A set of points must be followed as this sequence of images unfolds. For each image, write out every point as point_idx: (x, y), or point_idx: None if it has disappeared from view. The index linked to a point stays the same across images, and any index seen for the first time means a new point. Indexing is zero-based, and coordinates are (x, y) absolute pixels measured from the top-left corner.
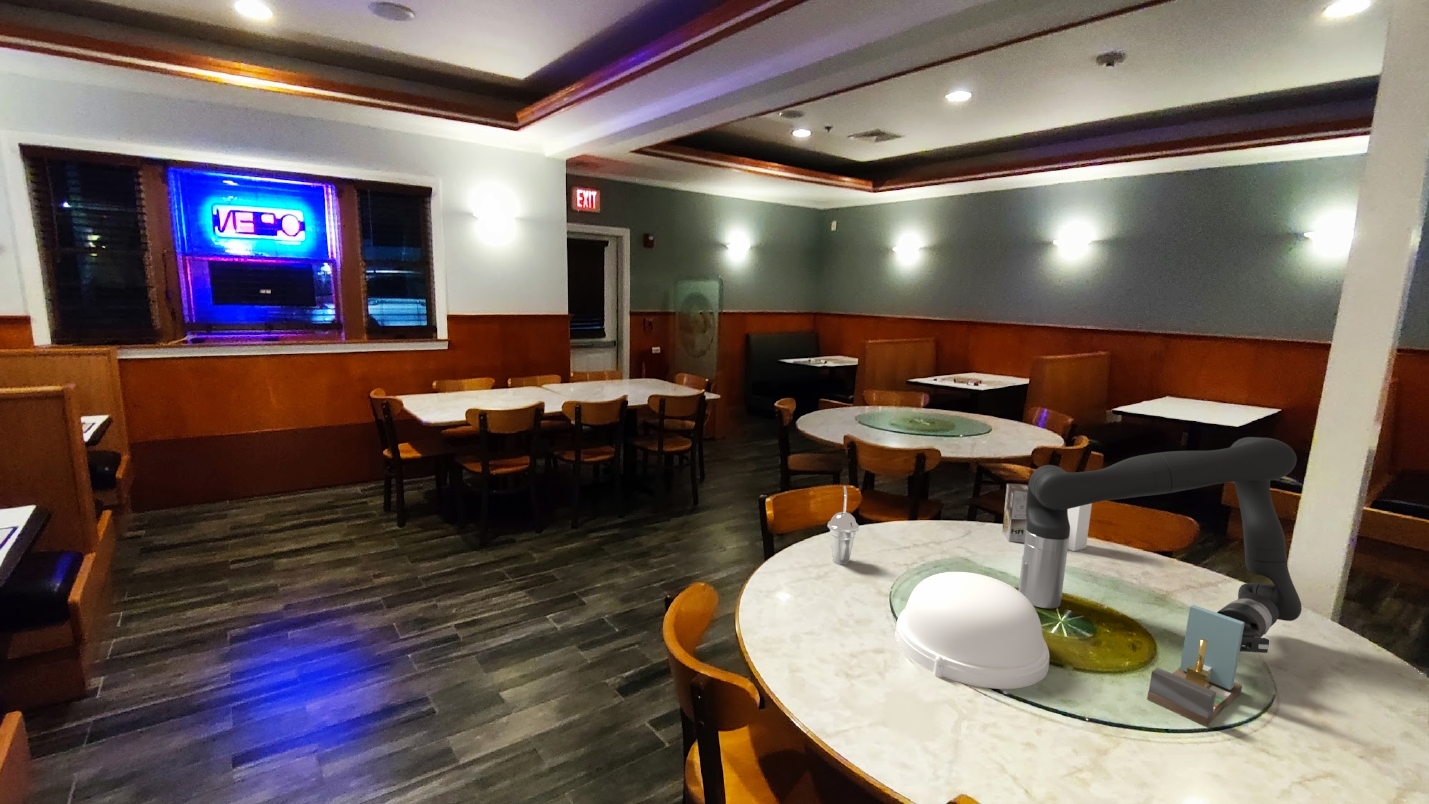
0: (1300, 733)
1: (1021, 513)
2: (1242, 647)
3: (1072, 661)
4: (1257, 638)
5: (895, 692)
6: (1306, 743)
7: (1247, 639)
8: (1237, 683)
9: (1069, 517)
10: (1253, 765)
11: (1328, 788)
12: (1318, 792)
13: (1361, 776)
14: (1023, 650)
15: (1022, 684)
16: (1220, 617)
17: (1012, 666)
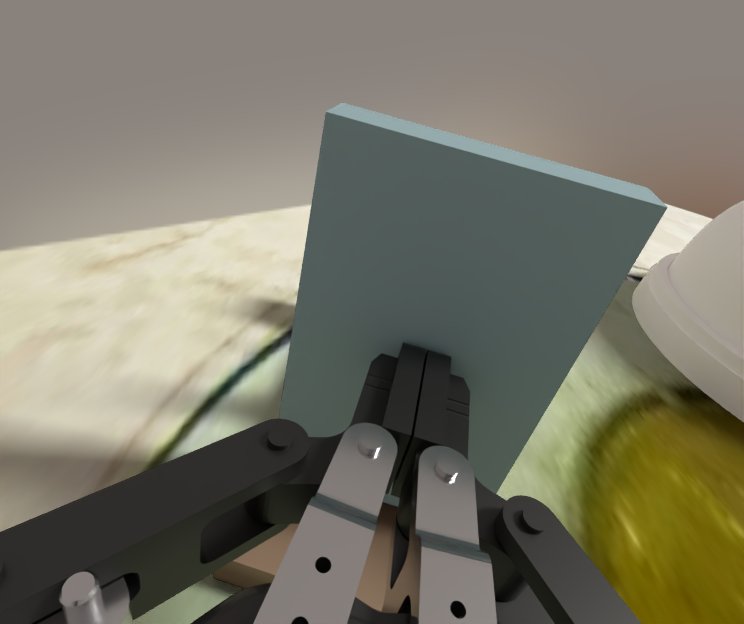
0: (74, 384)
1: None
2: (236, 520)
3: (694, 430)
4: (93, 538)
5: (679, 242)
6: (86, 344)
7: (217, 450)
8: (236, 560)
9: None
10: (261, 249)
11: (132, 237)
12: (160, 227)
13: (6, 279)
14: (693, 247)
15: (635, 291)
16: (460, 139)
17: (670, 265)
